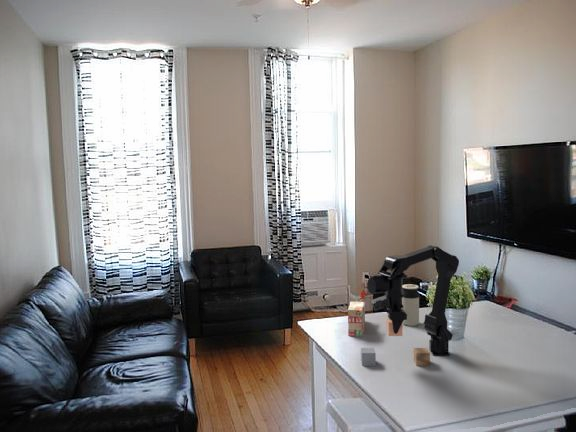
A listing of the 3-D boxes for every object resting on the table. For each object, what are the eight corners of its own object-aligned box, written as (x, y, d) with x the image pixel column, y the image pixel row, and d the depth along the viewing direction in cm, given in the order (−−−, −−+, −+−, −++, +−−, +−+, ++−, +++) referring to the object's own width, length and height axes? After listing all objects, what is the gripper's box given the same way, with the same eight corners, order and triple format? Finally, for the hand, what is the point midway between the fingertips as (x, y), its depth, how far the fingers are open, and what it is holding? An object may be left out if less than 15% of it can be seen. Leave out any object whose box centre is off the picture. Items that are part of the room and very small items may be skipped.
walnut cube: (427, 360, 182) (427, 347, 182) (429, 365, 177) (430, 353, 177) (413, 360, 183) (413, 347, 182) (416, 365, 178) (416, 353, 177)
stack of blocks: (352, 320, 231) (351, 296, 230) (365, 321, 230) (364, 296, 229) (348, 336, 211) (347, 309, 209) (362, 337, 209) (362, 309, 208)
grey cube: (374, 360, 184) (373, 347, 183) (375, 365, 179) (375, 353, 178) (361, 360, 184) (360, 348, 184) (362, 365, 179) (362, 353, 179)
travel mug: (422, 324, 222) (422, 287, 220) (408, 327, 219) (408, 289, 217) (412, 319, 230) (412, 283, 228) (398, 322, 227) (398, 285, 225)
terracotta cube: (400, 331, 182) (400, 318, 181) (402, 336, 177) (402, 322, 176) (386, 331, 182) (386, 318, 182) (388, 336, 177) (388, 322, 177)
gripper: (370, 284, 188) (370, 322, 189) (375, 297, 169) (375, 339, 171) (398, 284, 187) (398, 322, 188) (407, 297, 168) (407, 339, 170)
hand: (394, 330), depth 179 cm, fingers closed on terracotta cube, 5 cm apart
